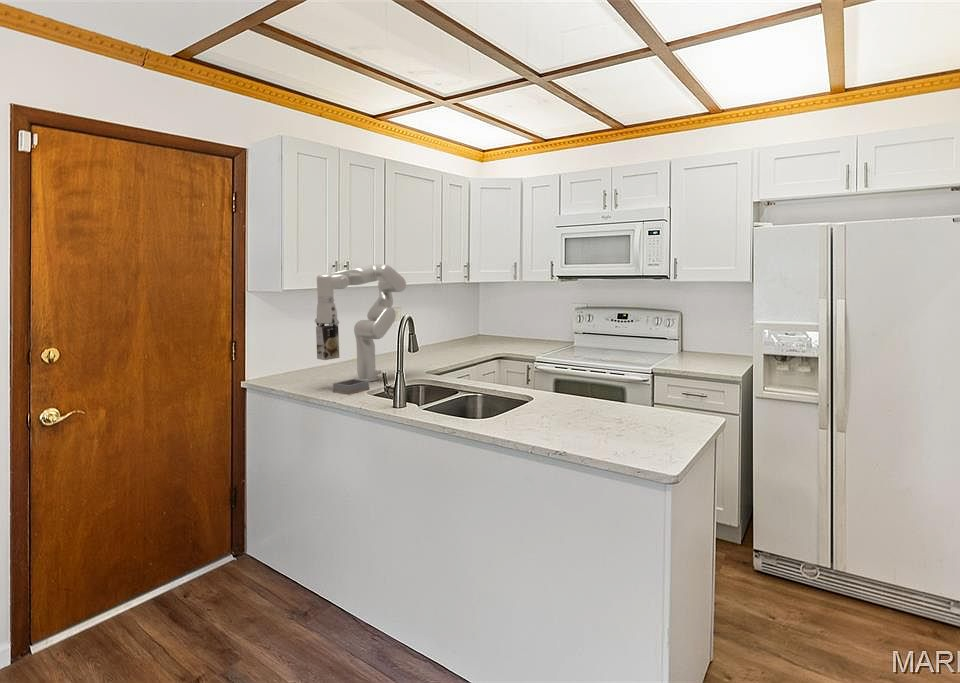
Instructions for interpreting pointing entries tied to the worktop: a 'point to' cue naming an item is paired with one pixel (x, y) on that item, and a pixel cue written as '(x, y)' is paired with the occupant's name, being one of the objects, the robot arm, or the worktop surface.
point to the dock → (351, 386)
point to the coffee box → (327, 343)
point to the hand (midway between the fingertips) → (327, 336)
